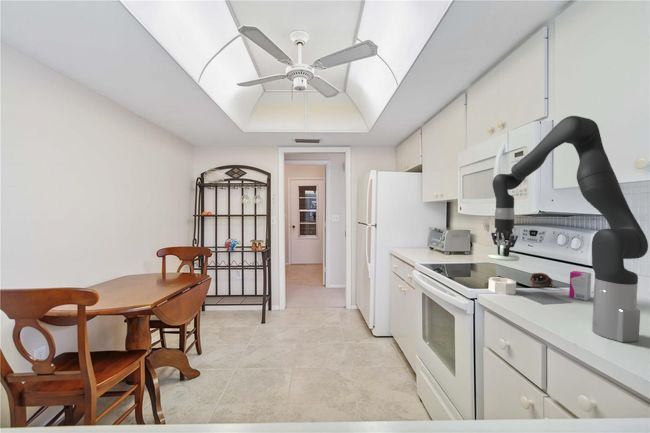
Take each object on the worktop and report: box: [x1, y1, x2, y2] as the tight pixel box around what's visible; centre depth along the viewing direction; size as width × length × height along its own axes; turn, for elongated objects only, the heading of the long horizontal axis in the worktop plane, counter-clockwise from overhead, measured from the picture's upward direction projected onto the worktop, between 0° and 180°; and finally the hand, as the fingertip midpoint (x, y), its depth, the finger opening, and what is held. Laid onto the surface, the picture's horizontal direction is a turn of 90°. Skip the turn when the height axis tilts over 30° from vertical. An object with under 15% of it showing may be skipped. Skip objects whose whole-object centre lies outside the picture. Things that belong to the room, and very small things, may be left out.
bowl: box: [487, 276, 517, 296], centre depth 130 cm, size 11×11×5 cm
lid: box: [487, 244, 520, 262], centre depth 129 cm, size 12×12×6 cm
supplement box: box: [568, 270, 592, 302], centre depth 120 cm, size 6×6×12 cm
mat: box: [514, 291, 574, 306], centre depth 120 cm, size 14×14×1 cm
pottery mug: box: [529, 272, 555, 288], centre depth 137 cm, size 12×10×8 cm
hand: (503, 255), depth 129 cm, fingers closed on lid, 2 cm apart
